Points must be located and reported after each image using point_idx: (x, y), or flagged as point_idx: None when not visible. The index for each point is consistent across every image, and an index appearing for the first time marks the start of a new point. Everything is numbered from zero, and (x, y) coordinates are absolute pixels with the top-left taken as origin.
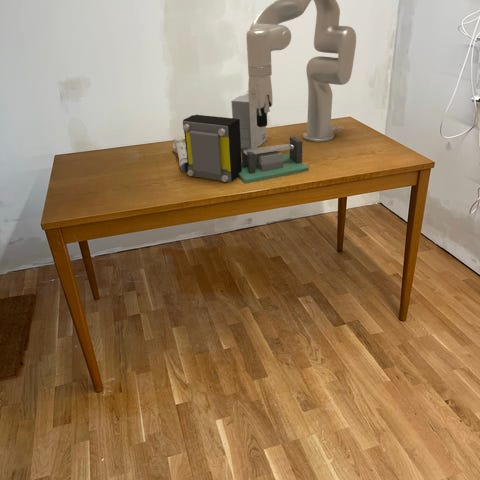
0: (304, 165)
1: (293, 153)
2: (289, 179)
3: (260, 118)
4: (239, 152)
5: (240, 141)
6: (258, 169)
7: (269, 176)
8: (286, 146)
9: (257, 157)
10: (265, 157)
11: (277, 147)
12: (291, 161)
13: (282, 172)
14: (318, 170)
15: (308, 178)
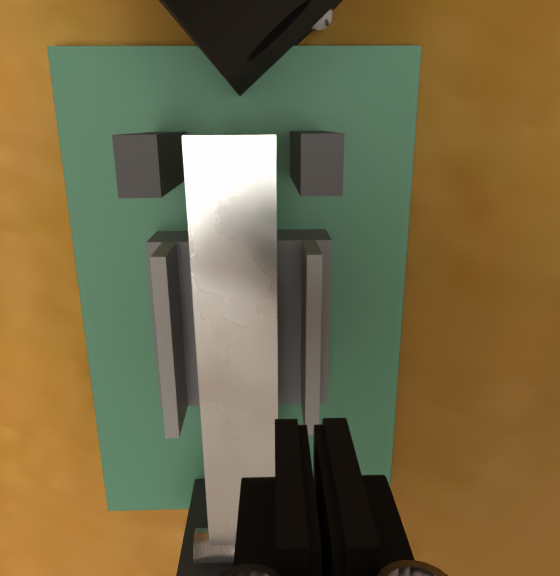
0: (149, 504)
1: None
2: (26, 352)
3: (275, 539)
4: (204, 53)
5: (219, 70)
6: None
7: (77, 249)
8: (217, 512)
9: None
10: (155, 295)
11: (219, 445)
12: None
13: (90, 347)
14: (98, 540)
15: (4, 451)
